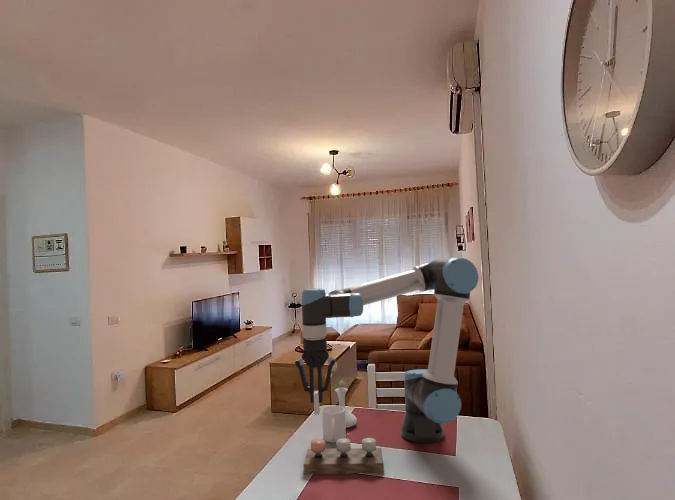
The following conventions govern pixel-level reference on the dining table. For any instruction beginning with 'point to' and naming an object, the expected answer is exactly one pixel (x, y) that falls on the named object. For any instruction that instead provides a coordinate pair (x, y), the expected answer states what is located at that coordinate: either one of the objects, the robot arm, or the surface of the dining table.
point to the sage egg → (369, 445)
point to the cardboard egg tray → (343, 462)
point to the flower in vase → (343, 399)
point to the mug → (333, 423)
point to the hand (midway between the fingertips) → (317, 412)
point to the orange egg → (318, 446)
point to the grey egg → (343, 446)
